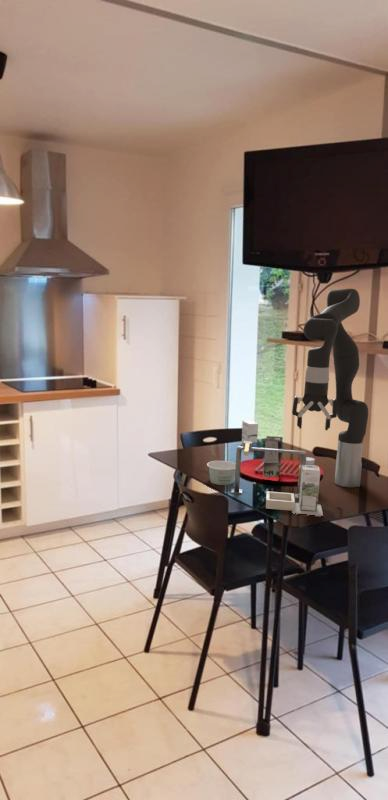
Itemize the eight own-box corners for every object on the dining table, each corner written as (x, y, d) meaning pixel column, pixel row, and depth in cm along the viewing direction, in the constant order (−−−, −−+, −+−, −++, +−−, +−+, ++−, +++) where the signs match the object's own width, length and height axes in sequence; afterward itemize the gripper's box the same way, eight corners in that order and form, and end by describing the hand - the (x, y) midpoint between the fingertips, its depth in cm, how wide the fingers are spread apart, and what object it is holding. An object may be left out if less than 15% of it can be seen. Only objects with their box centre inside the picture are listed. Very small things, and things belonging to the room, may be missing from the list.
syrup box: (315, 506, 210) (318, 465, 207) (317, 512, 204) (320, 470, 201) (298, 504, 210) (301, 464, 208) (299, 510, 204) (302, 468, 202)
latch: (251, 445, 221) (252, 441, 220) (250, 456, 206) (250, 451, 206) (243, 445, 221) (243, 440, 221) (241, 455, 206) (241, 451, 206)
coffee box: (279, 482, 237) (281, 441, 234) (262, 480, 238) (264, 440, 235) (280, 475, 245) (283, 436, 243) (264, 474, 247) (266, 435, 244)
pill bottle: (302, 484, 235) (305, 455, 233) (318, 488, 231) (320, 459, 229) (294, 488, 230) (296, 458, 228) (309, 492, 226) (311, 462, 224)
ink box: (257, 448, 289) (258, 423, 287) (247, 448, 287) (248, 424, 285) (250, 443, 297) (251, 419, 295) (240, 443, 295) (242, 420, 293)
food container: (213, 487, 228) (214, 470, 226) (201, 477, 238) (202, 461, 237) (242, 484, 232) (243, 468, 231) (229, 475, 243) (230, 459, 242)
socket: (293, 501, 215) (293, 493, 215) (294, 510, 206) (294, 502, 205) (266, 499, 216) (266, 491, 216) (265, 508, 207) (266, 499, 206)
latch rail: (306, 496, 222) (309, 450, 219) (306, 499, 218) (310, 453, 215) (231, 490, 225) (234, 445, 222) (230, 493, 221) (233, 447, 218)
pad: (320, 506, 211) (320, 504, 211) (322, 516, 202) (323, 514, 201) (291, 504, 212) (291, 502, 212) (292, 514, 203) (292, 512, 203)
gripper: (338, 380, 202) (333, 428, 205) (294, 377, 204) (290, 425, 207) (340, 383, 195) (336, 433, 198) (295, 380, 197) (291, 429, 199)
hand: (313, 429), depth 202 cm, fingers open, 8 cm apart
